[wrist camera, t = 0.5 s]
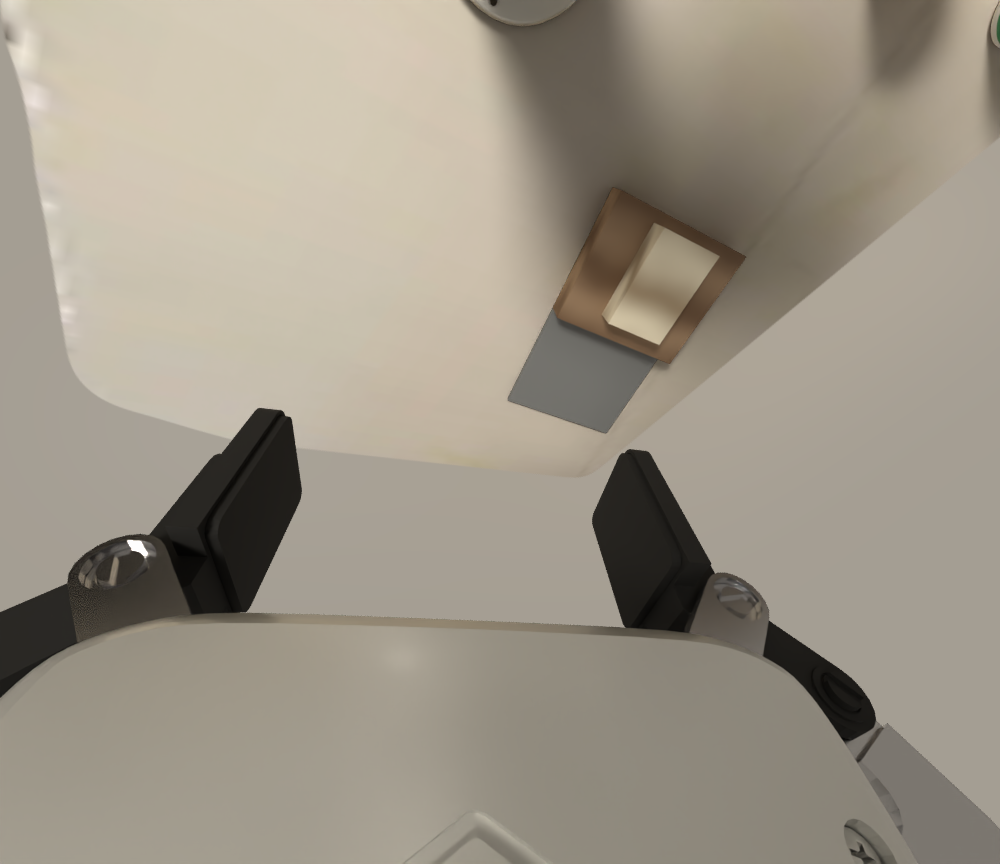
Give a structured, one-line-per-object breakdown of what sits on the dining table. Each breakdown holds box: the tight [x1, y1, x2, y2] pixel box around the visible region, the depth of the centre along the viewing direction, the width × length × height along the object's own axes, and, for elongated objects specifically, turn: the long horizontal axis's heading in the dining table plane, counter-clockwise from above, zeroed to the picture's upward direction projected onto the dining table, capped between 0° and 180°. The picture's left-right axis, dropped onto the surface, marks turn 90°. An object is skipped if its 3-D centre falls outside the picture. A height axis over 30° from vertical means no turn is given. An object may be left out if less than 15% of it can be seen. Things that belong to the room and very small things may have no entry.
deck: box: [553, 187, 746, 364], centre depth 41 cm, size 12×14×3 cm
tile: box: [602, 223, 720, 345], centre depth 38 cm, size 9×6×2 cm, turn 157°
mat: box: [508, 308, 657, 433], centre depth 48 cm, size 12×14×1 cm
